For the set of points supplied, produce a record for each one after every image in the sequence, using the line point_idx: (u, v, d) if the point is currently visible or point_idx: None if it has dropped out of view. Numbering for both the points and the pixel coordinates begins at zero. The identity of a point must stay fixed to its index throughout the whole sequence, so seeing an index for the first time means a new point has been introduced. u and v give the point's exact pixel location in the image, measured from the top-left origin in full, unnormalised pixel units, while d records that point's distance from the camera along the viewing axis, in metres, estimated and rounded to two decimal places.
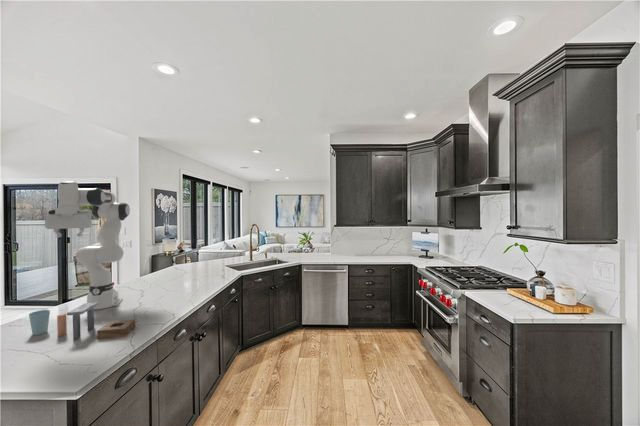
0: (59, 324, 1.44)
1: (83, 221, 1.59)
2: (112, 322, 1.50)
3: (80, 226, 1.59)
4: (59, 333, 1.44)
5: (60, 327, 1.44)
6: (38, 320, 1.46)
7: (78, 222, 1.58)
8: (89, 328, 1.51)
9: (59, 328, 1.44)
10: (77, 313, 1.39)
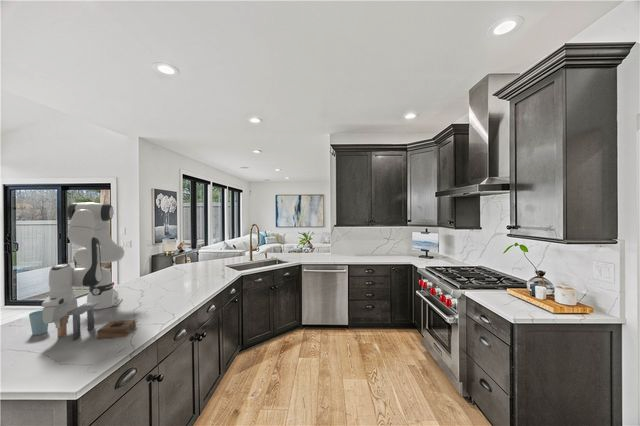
0: None
1: (75, 304, 1.53)
2: (112, 322, 1.50)
3: None
4: (59, 333, 1.44)
5: (60, 327, 1.44)
6: (38, 320, 1.46)
7: (72, 306, 1.51)
8: (89, 328, 1.51)
9: (59, 328, 1.44)
10: (77, 313, 1.39)
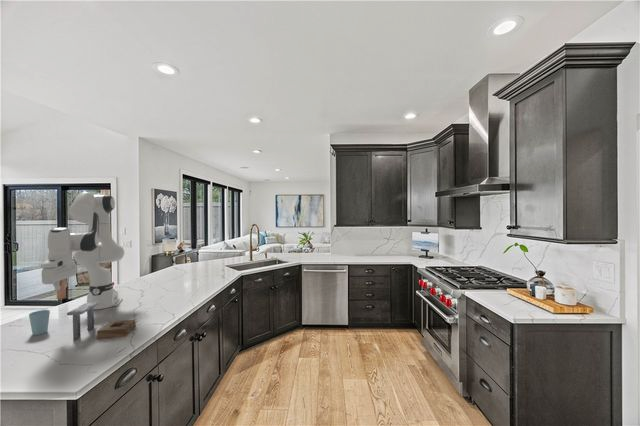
0: None
1: (74, 268, 1.53)
2: (112, 322, 1.50)
3: (72, 274, 1.52)
4: (58, 296, 1.44)
5: (59, 290, 1.44)
6: (38, 320, 1.46)
7: (71, 270, 1.51)
8: (89, 328, 1.51)
9: (58, 291, 1.44)
10: (77, 313, 1.39)
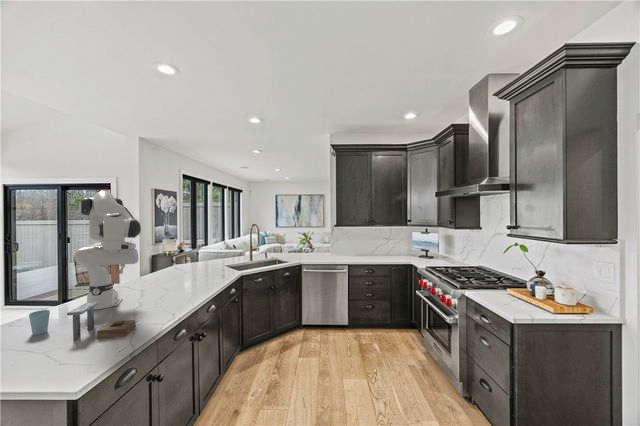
0: None
1: None
2: (112, 322, 1.50)
3: None
4: (118, 279, 1.47)
5: None
6: (38, 320, 1.46)
7: None
8: (89, 328, 1.51)
9: (118, 274, 1.47)
10: (77, 313, 1.39)
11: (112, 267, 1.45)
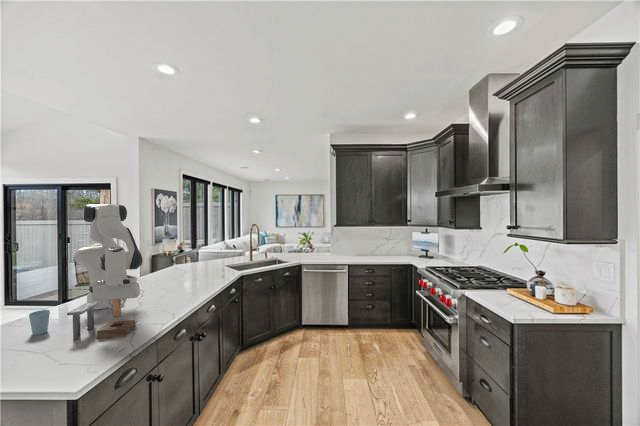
0: None
1: None
2: (112, 322, 1.50)
3: None
4: (120, 313, 1.47)
5: (120, 308, 1.47)
6: (38, 320, 1.46)
7: None
8: (89, 328, 1.51)
9: (120, 308, 1.47)
10: (77, 313, 1.39)
11: (114, 302, 1.45)
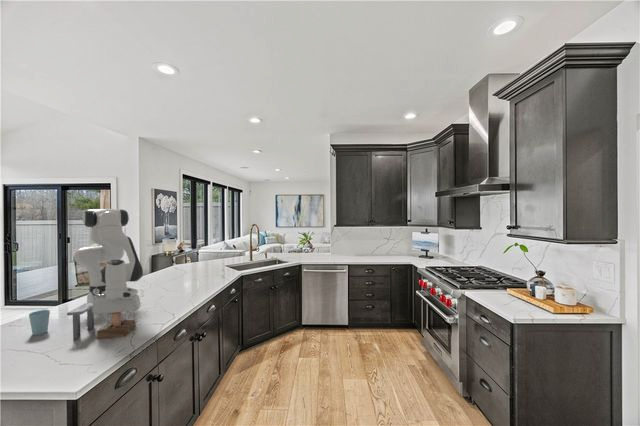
0: (120, 320, 1.47)
1: None
2: (112, 322, 1.50)
3: None
4: None
5: None
6: (38, 320, 1.46)
7: None
8: (89, 328, 1.51)
9: (120, 324, 1.47)
10: (77, 313, 1.39)
11: (114, 318, 1.45)
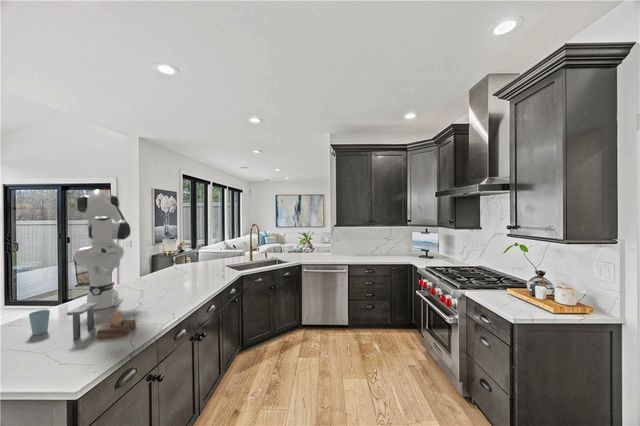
0: (120, 320, 1.47)
1: None
2: (112, 322, 1.50)
3: None
4: None
5: None
6: (38, 320, 1.46)
7: None
8: (89, 328, 1.51)
9: (120, 324, 1.47)
10: (77, 313, 1.39)
11: (114, 318, 1.45)
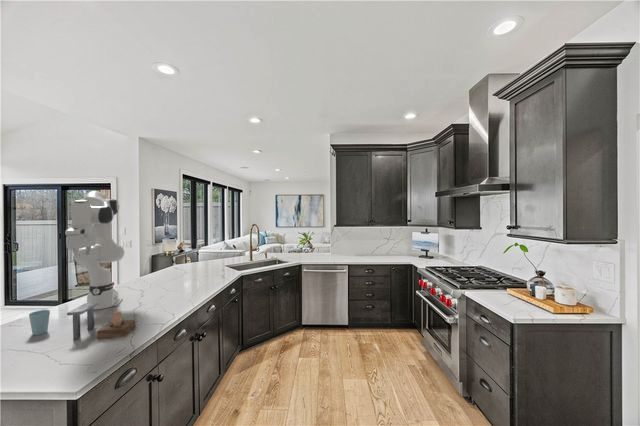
0: (120, 320, 1.47)
1: (93, 239, 1.64)
2: (112, 322, 1.50)
3: (92, 244, 1.63)
4: None
5: None
6: (38, 320, 1.46)
7: (91, 240, 1.62)
8: (89, 328, 1.51)
9: (120, 324, 1.47)
10: (77, 313, 1.39)
11: (114, 318, 1.45)
